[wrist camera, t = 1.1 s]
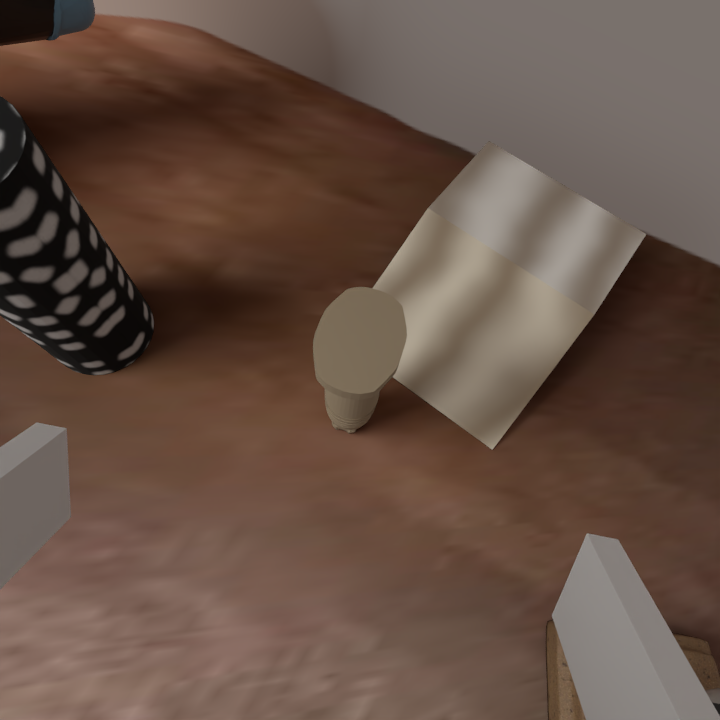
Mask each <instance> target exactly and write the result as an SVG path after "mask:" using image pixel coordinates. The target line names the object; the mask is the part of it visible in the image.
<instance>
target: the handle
mask: <svg viewBox="0 0 720 720" xmlns="http://www.w3.org/2000/svg"><path fill="white" fill-rule="evenodd" d="M406 338H407V328H406V322H405V316H404V312H403V307H402V305H401V304H400V303H399V302H398V301H397V300H396V299H395V298H394V297H392V296H390V295H389V294H387V293H385V292H382V291H380V290H377V289H372V288H367V287H355V288H350V289H347V290H346V291H344V292H343V293H342V294H341V295H340V296H339V297H338V298H336V299H335V300H334V301H333V302H332V303H331V304H330V305H329V306H328V307H327V309H326V310H325V311H324V313H323V315H322V317H321V320H320V322H319V325H318V327H317V330H316V332H315V336H314V340H313V356H314V366H315V374H316V379H317V380H318V382H319V383H320V384H321V385H322V386H323V387H324V388H325V405H326V410H327V413H328V415H329V417H330V419H331V421H332V425H333V427H334V428H335V429H337V430H338V429H342V430H345V431H347V432H348V433H349V434H351V433H354V432H355V431H356V429H357V428H360V427H361V426H363V425H364V424H366V423H367V421H368V420H369V419H370V417H371V415H372V414H373V412H374V410H375V407H376V404H377V402H378V398H379V392H380V390H381V389H382V388H383V387H384V386H385V385H386V383H387V382H388V381H389V380H390V379H391V378H392V377H393V375H394V374H395V373H396V371H397V368H398V365H399V362H400V359H401V356H402V353H403V349H404V346H405V343H406Z"/></svg>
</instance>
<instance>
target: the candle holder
mask: <svg viewBox="0 0 720 720" xmlns="http://www.w3.org/2000/svg"><path fill="white" fill-rule="evenodd" d="M672 634H673V633H672ZM673 636H674V637H675V639H676V641H677V643H678V644H679V646H680V648H681V650H682V651H683V653H684V655H685V657H686V658H687V660H688V662H689V663H690V665H691V667H692V669H693V670H694V672H695V674H696V676H697V677H698V679H699V681H700V683H701V684H702V686H703V688H704V690H705V691H706V693H707V695H708V696H709V698H710V700H711V702H712V703H717V704H720V677H719V672H718V668H717V665H716V663H715V660H714V657H713V655H711V651H710V647H709V644H708V642H707V641H704V640H702V639H699V638H694V637H690V636H685V635H679V634H673ZM546 666H547V697H548V720H586V718H585V715H584V712H583V709H582V706H581V703H580V700H579V697H578V694H577V691H576V688H575V685H574V682H573V679H572V676H571V673H570V670H569V666H568V663H567V660H566V657H565V654H564V651H563V648H562V645H561V642H560V639H559V636H558V633H557V630H556V627H555V624H554V621H553V620H551V621H548V623H547V626H546Z"/></svg>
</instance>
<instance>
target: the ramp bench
mask: <svg viewBox="0 0 720 720" xmlns="http://www.w3.org/2000/svg"><path fill="white" fill-rule="evenodd" d="M645 235H646V234H645V233H643V232H642V231H640V230H638V229H637V228H635V227H633V226H632V225H630V224H628V223H626V222H625V221H623V220H621V219H620V218H618V217H616V216H615V215H613V214H611V213H610V212H608V211H606V210H604V209H603V208H601V207H599V206H598V205H596V204H594V203H593V202H591V201H589V200H587V199H586V198H584V197H583V196H581V195H579V194H577V193H576V192H574V191H572V190H571V189H569V188H567V187H565V186H564V185H562V184H560V183H559V182H557V181H556V180H554V179H552V178H550V177H549V176H547V175H545V174H543V173H542V172H540V171H539V170H537V169H535V168H534V167H532V166H530V165H528V164H527V163H525V162H523V161H522V160H520V159H518V158H517V157H515V156H513V155H512V154H510V153H508V152H506V151H505V150H503V149H502V148H500V147H498V146H496V145H495V144H493V143H491V142H490V141H489V142H488V143H487V144H486V145H485V146H484V147H483V148H482V150H480V152H479V153H478V154H477V155H476V156H475V157H474V158H473V159H472V160H471V161H470V163H469V164H468V165H467V166H466V167H465V168H464V169H463V170H462V171H461V172H460V174H459V175H458V176H457V177H456V178H455V179H454V180H453V181H452V182H451V183H450V185H449V186H448V187H447V188H446V189H445V190H444V191H443V192H442V193H441V194H440V196H439V197H438V198H437V199H436V200H435V201H434V202H433V203H432V204H431V205H430V207H429V208H428V209H427V210H426V212H425V213H424V215H423V216H422V218H421V219H420V220H419V222H418V223H417V225H416V226H415V228H414V229H413V231H412V232H411V233H410V235H409V236H408V238H407V239H406V241H405V242H404V244H403V245H402V247H401V248H400V249H399V251H398V252H397V254H396V255H395V257H394V258H393V260H392V261H391V262H390V264H389V265H388V267H387V268H386V270H385V271H384V273H383V274H382V275H381V277H380V278H379V280H378V281H377V283H376V284H375V286H374V287H373V288H372V289H377V290H380V291H382V292H385V293H387V294H389V295H390V296H392V297H394V298H395V299H396V300H397V301H398V302H399V303H400V304H401V305H402V307H403V312H404V316H405V322H406V328H407V338H406V343H405V346H404V349H403V353H402V356H401V359H400V362H399V365H398V368H397V371H396V373H395V374H394V375H393V378H394V379H396V380H397V381H399V382H400V383H401V384H403V385H404V386H405V387H407V388H408V389H410V390H411V391H412V392H414V393H415V394H416V395H418V396H419V397H421V398H422V399H423V400H425V401H426V402H427V403H429V404H430V405H432V406H433V407H434V408H436V409H437V410H438V411H440V412H441V413H442V414H444V415H445V416H447V417H448V418H449V419H451V420H452V421H453V422H455V423H456V424H458V425H459V426H460V427H462V428H463V429H464V430H466V431H467V432H469V433H470V434H471V435H473V436H474V437H475V438H477V439H478V440H480V441H481V442H482V443H484V444H485V445H486V446H488V447H489V448H491V449H492V450H493V449H494V447H495V446H496V445H497V443H498V442H499V441H500V439H501V438H502V437H503V435H504V434H505V433H506V431H507V430H508V429H509V427H510V426H511V425H512V423H513V422H514V421H515V419H516V418H517V417H518V415H519V414H520V413H521V411H522V410H523V409H524V407H525V406H526V405H527V403H528V402H529V401H530V399H531V398H532V397H533V395H534V394H535V393H536V391H537V390H538V389H539V387H540V386H541V385H542V383H543V382H544V381H545V379H546V378H547V377H548V376H549V374H550V373H551V372H552V370H553V369H554V368H555V366H556V365H557V364H558V362H559V361H560V360H561V358H562V357H563V356H564V354H565V353H566V352H567V350H568V349H569V348H570V346H571V345H572V344H573V342H574V341H575V340H576V338H577V337H578V336H579V334H580V333H581V332H582V330H583V329H584V328H585V326H586V325H587V324H588V322H589V321H590V320H591V318H592V317H593V316H594V314H595V313H596V311H597V310H598V308H599V307H600V305H601V304H602V302H603V300H604V299H605V297H606V296H607V294H608V293H609V291H610V290H611V288H612V287H613V285H614V283H615V282H616V280H617V279H618V277H619V276H620V274H621V273H622V271H623V269H624V268H625V266H626V265H627V263H628V262H629V260H630V259H631V257H632V256H633V254H634V252H635V251H636V249H637V248H638V246H639V245H640V243H641V242H642V240H643V238H644V237H645Z"/></svg>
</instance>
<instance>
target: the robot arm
mask: <svg viewBox="0 0 720 720" xmlns="http://www.w3.org/2000/svg"><path fill="white" fill-rule="evenodd" d="M94 16H95V8H94V3H93V0H0V46H3V45H10V44H17V43H24V42H32V41H39V40H55V39H57V38H58V37H59V36H61V35H65V34H70V33H74V32H79V31H83V30H85V29H87V28H88V27H89V26H90V25H91V24H92V22H93V20H94ZM70 517H71V510H70V489H69V468H68V447H67V428H62V427H57V426H52V425H47V424H42V423H35V424H34V425H33V426H31V427H30V428H28V429H27V430H25V431H24V432H22V433H21V434H19V435H18V436H16V437H15V438H13V439H12V440H10V441H9V442H7V443H6V444H4V445H3V446H1V447H0V589H1V588H2V587H3V586H4V585H5V584H6V583H7V582H8V581H9V580H10V579H11V578H12V577H13V576H14V575H15V574H16V573H17V572H18V571H19V570H20V569H21V568H22V567H23V566H24V565H25V564H26V563H27V561H28V560H29V559H30V558H31V557H32V556H33V555H34V554H35V553H36V552H37V551H38V550H39V549H40V548H41V547H42V546H43V545H44V544H45V543H46V542H47V541H48V540H49V539H50V538H51V537H52V536H53V535H54V534H55V533H56V532H57V531H58V530H59V529H60V528H61V527H62V526H63V525H64V524H65V522H66V521H67V520H68V519H69V518H70ZM552 618H553V621H554V624H555V627H556V630H557V633H558V636H559V639H560V642H561V645H562V648H563V651H564V654H565V657H566V660H567V663H568V666H569V670H570V673H571V676H572V679H573V682H574V685H575V688H576V691H577V694H578V697H579V700H580V703H581V706H582V709H583V712H584V715H585V718H586V720H720V704H717V703H712V702H711V700H710V698H709V696H708V695H707V693H706V691H705V690H704V688H703V686H702V684H701V683H700V681H699V679H698V677H697V676H696V674H695V672H694V670H693V669H692V667H691V665H690V663H689V662H688V660H687V658H686V657H685V655H684V653H683V651H682V650H681V648H680V646H679V644H678V643H677V641H676V639H675V637H674V636H673V634H672V632H671V631H670V629H669V627H668V625H667V624H666V622H665V620H664V618H663V617H662V615H661V613H660V611H659V610H658V608H657V606H656V604H655V603H654V601H653V599H652V598H651V596H650V594H649V592H648V591H647V589H646V587H645V585H644V584H643V582H642V580H641V578H640V577H639V575H638V573H637V572H636V570H635V568H634V566H633V565H632V563H631V561H630V559H629V558H628V556H627V554H626V552H625V551H624V549H623V547H622V546H621V544H620V542H619V540H618V539H613V538H608V537H603V536H598V535H593V534H588V533H587V535H586V537H585V539H584V542H583V544H582V546H581V549H580V551H579V553H578V556H577V558H576V560H575V563H574V565H573V567H572V570H571V572H570V574H569V577H568V579H567V581H566V584H565V586H564V588H563V591H562V593H561V595H560V598H559V600H558V602H557V605H556V607H555V609H554V612H553V614H552Z"/></svg>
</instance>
